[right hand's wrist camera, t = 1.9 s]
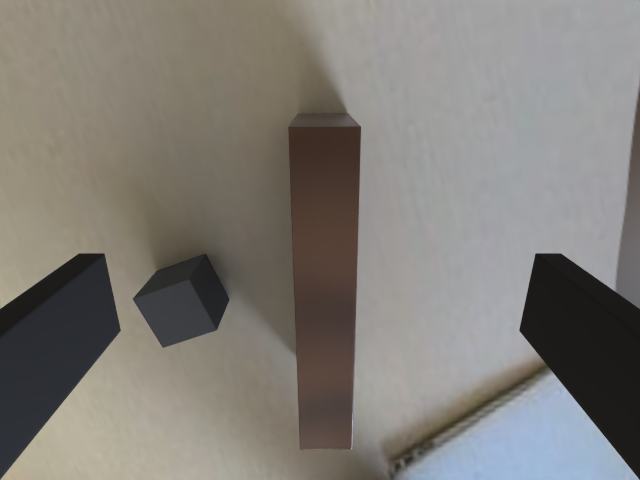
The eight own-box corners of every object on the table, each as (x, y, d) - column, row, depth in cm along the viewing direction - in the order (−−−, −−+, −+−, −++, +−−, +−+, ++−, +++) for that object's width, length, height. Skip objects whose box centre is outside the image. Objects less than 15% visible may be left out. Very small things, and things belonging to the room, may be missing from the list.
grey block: (156, 271, 36) (132, 298, 32) (205, 253, 36) (188, 279, 31) (181, 315, 38) (162, 348, 33) (229, 299, 37) (217, 330, 33)
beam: (297, 114, 31) (288, 126, 22) (348, 113, 31) (361, 126, 22) (304, 364, 40) (300, 449, 31) (344, 364, 40) (352, 449, 31)
